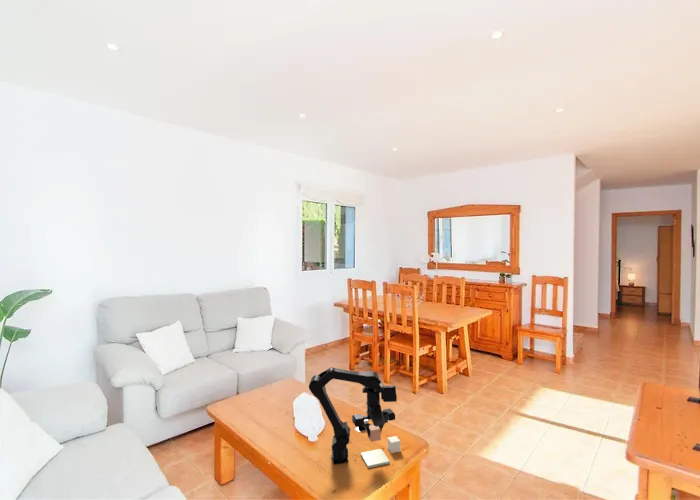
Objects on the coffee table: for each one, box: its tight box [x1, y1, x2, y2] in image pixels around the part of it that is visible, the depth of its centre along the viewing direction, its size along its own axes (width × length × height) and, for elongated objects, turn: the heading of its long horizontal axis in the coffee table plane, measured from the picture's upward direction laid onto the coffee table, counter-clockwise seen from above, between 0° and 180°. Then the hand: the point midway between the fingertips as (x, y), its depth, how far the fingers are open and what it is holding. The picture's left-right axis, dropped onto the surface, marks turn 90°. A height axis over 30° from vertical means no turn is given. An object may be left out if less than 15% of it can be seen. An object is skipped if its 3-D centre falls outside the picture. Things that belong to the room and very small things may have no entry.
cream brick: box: [387, 435, 401, 454], centre depth 170 cm, size 4×4×5 cm
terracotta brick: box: [367, 424, 382, 443], centre depth 163 cm, size 4×4×5 cm
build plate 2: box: [352, 423, 372, 433], centre depth 191 cm, size 12×7×5 cm, turn 134°
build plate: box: [360, 448, 391, 469], centre depth 163 cm, size 10×10×1 cm
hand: (374, 436), depth 163 cm, fingers closed on terracotta brick, 4 cm apart
